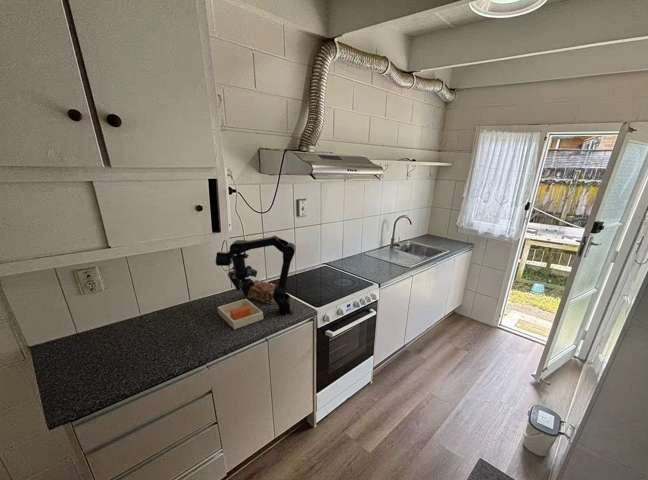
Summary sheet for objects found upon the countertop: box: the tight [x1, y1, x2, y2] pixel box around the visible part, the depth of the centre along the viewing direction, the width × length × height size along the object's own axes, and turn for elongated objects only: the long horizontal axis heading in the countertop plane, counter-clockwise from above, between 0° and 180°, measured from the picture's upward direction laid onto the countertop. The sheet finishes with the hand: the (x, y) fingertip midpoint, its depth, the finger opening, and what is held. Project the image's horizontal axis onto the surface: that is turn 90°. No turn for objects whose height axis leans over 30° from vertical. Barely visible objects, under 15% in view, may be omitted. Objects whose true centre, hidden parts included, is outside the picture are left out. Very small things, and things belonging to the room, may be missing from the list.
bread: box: [246, 280, 276, 305], centre depth 175 cm, size 19×11×10 cm, turn 68°
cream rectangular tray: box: [217, 298, 264, 330], centre depth 155 cm, size 20×16×5 cm
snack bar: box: [230, 306, 251, 320], centre depth 155 cm, size 4×9×4 cm, turn 134°
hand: (242, 293), depth 156 cm, fingers open, 9 cm apart
